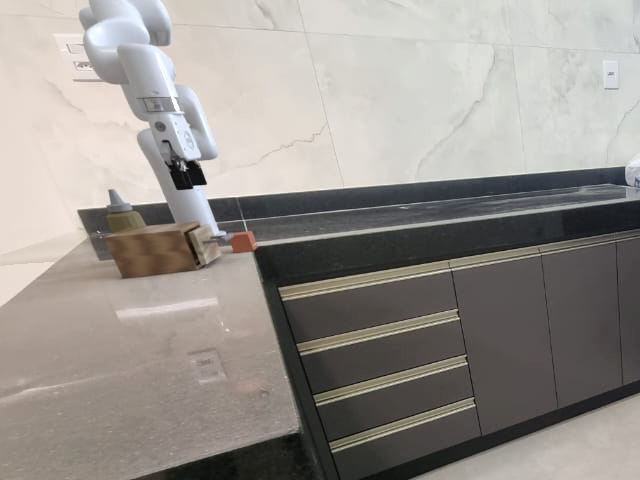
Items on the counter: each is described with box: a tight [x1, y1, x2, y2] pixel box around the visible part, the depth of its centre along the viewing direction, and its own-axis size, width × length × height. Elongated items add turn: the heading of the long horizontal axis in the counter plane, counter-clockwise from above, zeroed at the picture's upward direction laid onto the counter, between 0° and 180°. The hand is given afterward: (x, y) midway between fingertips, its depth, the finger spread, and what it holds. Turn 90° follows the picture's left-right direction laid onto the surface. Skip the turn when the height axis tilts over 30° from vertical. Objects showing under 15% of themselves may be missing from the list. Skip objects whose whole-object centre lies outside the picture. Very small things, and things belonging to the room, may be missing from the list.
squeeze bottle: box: [105, 188, 147, 234], centre depth 136 cm, size 8×8×18 cm
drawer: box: [183, 224, 234, 266], centre depth 130 cm, size 18×11×8 cm, turn 111°
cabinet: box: [102, 221, 204, 279], centre depth 129 cm, size 15×13×10 cm
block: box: [228, 230, 259, 254], centre depth 145 cm, size 5×5×5 cm
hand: (192, 187), depth 126 cm, fingers open, 8 cm apart
